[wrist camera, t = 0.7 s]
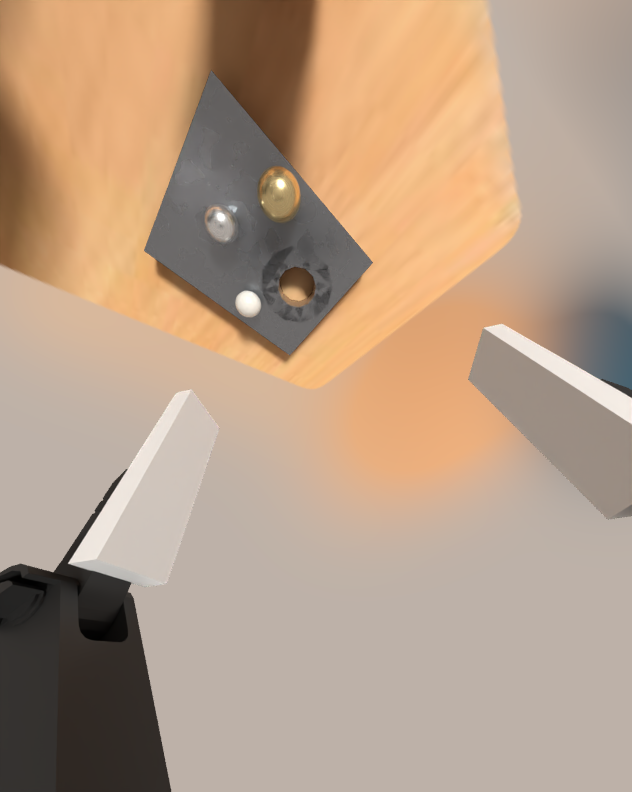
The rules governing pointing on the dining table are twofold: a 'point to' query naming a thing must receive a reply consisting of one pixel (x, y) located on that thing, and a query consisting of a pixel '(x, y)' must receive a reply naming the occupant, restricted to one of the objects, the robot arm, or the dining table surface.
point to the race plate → (249, 226)
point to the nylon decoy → (248, 304)
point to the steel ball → (221, 223)
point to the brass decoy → (278, 194)
